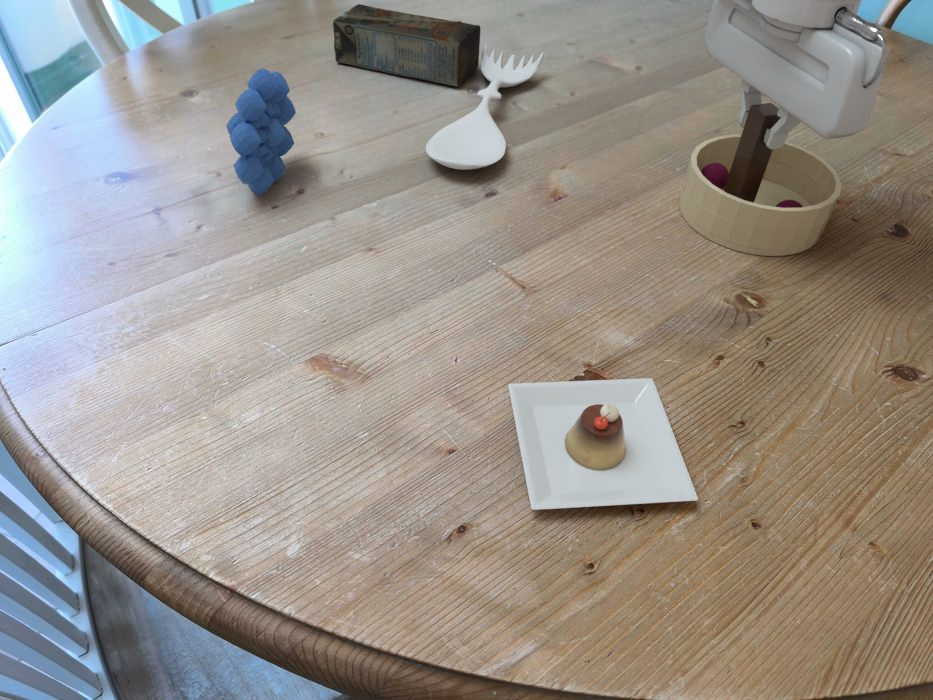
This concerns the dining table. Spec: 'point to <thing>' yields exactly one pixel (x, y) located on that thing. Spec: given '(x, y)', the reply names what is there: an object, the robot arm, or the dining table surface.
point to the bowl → (761, 200)
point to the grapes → (262, 130)
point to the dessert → (597, 444)
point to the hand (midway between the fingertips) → (759, 136)
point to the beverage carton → (407, 44)
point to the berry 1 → (716, 174)
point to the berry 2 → (789, 204)
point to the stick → (751, 153)
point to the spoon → (480, 119)
